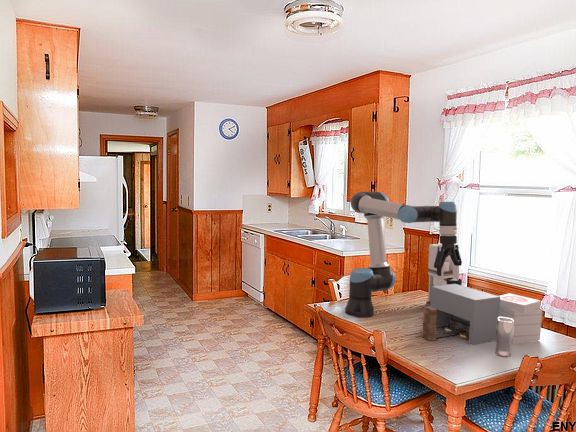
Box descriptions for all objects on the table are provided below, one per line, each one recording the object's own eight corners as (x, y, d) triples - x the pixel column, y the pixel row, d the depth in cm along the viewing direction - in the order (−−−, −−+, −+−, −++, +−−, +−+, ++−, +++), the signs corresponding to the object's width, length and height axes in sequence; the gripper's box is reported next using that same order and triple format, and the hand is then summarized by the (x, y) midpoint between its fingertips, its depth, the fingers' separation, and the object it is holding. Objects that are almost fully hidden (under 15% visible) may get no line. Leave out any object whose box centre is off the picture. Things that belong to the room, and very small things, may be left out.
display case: (426, 304, 263) (429, 244, 260) (440, 303, 267) (443, 243, 264) (440, 310, 252) (444, 247, 249) (454, 308, 257) (458, 246, 254)
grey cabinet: (429, 326, 224) (431, 286, 222) (452, 322, 231) (455, 283, 229) (472, 344, 201) (475, 300, 199) (497, 339, 208) (500, 296, 206)
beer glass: (490, 351, 194) (492, 316, 193) (506, 351, 195) (508, 316, 193) (499, 357, 187) (502, 322, 186) (515, 357, 188) (518, 322, 186)
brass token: (456, 336, 212) (456, 333, 212) (464, 335, 214) (464, 331, 214) (465, 340, 207) (465, 336, 207) (473, 338, 210) (473, 335, 210)
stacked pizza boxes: (499, 322, 235) (502, 287, 233) (546, 343, 206) (550, 303, 205) (467, 324, 230) (470, 288, 228) (511, 345, 201) (514, 305, 200)
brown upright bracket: (412, 332, 214) (413, 303, 212) (451, 326, 225) (453, 297, 224) (441, 346, 198) (443, 314, 197) (481, 338, 209) (483, 307, 208)
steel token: (442, 330, 220) (442, 327, 220) (449, 329, 222) (449, 325, 222) (450, 333, 215) (450, 330, 215) (457, 332, 218) (457, 329, 218)
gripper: (440, 236, 200) (441, 285, 200) (469, 234, 216) (469, 278, 216) (425, 236, 205) (425, 283, 206) (454, 233, 222) (454, 277, 222)
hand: (448, 281), depth 211 cm, fingers open, 13 cm apart
